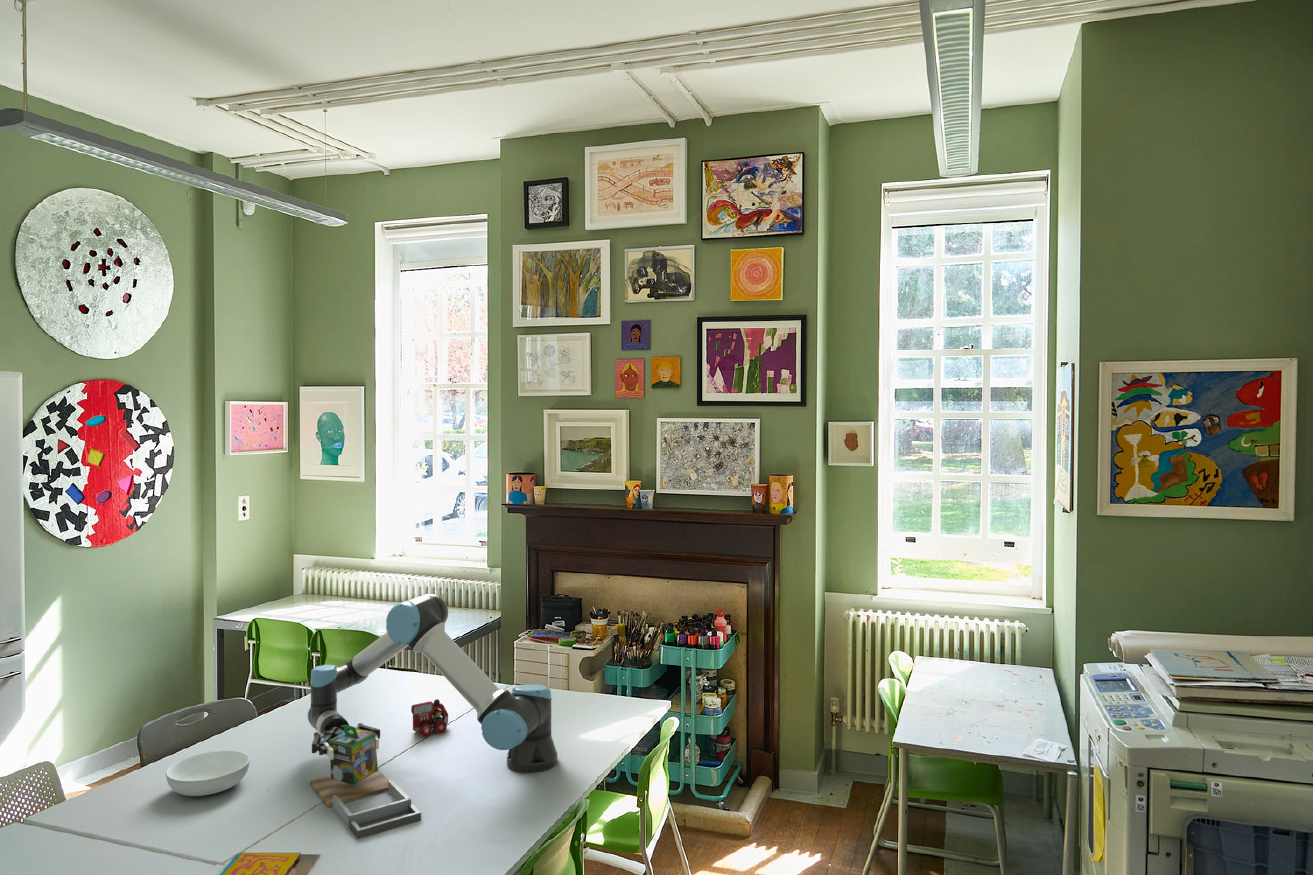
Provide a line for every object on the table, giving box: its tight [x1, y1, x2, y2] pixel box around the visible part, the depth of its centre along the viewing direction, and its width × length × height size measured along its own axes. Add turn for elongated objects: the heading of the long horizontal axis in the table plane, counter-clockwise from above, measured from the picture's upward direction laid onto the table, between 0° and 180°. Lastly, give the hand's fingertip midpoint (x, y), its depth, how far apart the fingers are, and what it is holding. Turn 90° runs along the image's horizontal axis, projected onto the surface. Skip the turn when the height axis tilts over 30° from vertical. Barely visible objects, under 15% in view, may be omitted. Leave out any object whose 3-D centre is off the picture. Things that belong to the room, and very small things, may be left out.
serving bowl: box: [165, 750, 251, 797], centre depth 233 cm, size 21×21×7 cm
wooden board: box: [309, 769, 390, 808], centre depth 234 cm, size 18×18×1 cm
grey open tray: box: [331, 779, 422, 840], centre depth 218 cm, size 22×16×3 cm
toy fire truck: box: [410, 698, 449, 738], centre depth 276 cm, size 7×12×10 cm, turn 128°
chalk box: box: [329, 725, 379, 785], centre depth 233 cm, size 9×9×15 cm
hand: (355, 749), depth 231 cm, fingers closed on chalk box, 12 cm apart
